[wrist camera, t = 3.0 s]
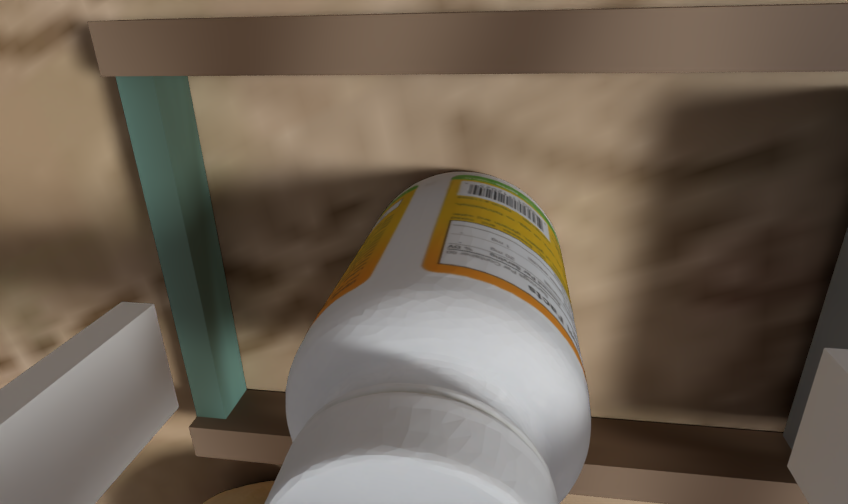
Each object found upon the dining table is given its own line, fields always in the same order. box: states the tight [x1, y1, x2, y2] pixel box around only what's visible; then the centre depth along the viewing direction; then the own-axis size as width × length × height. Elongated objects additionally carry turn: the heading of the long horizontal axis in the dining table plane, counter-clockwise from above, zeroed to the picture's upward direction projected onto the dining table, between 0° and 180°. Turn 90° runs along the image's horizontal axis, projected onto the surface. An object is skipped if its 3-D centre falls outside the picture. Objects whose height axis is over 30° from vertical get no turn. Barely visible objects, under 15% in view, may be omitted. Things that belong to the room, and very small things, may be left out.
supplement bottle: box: [264, 172, 591, 504], centre depth 11 cm, size 5×5×10 cm
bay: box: [88, 3, 848, 504], centre depth 14 cm, size 32×13×2 cm, turn 91°
